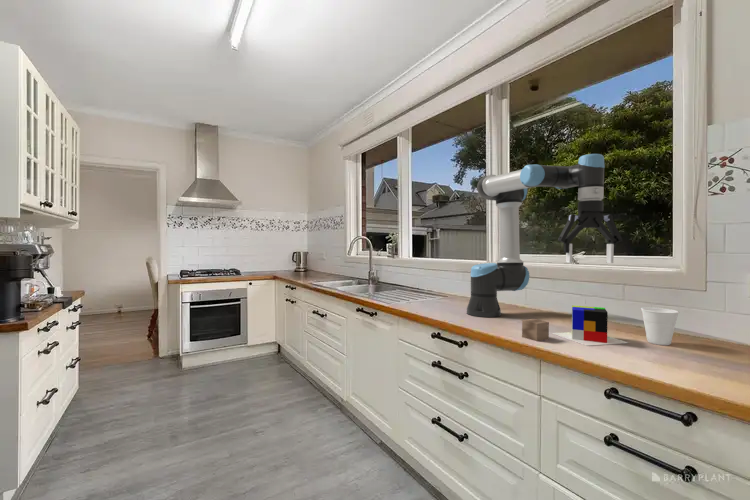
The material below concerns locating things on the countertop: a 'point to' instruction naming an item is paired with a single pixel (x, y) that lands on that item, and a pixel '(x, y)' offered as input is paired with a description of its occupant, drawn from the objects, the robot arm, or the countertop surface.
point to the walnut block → (535, 329)
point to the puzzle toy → (589, 323)
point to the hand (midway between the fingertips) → (589, 262)
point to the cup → (659, 324)
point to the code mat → (589, 343)
